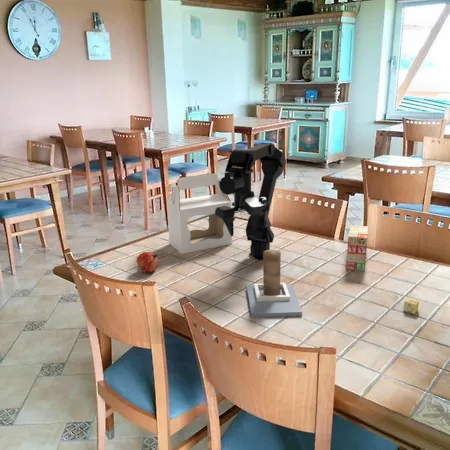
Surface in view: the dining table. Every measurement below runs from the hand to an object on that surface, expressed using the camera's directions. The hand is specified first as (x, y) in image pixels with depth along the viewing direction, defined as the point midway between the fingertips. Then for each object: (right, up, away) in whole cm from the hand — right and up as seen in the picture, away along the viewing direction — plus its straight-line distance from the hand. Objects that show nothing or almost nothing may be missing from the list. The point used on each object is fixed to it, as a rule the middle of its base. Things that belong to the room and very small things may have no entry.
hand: (243, 233), depth 155 cm
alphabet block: (+46, -21, -27) cm, 57 cm away
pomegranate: (-33, -13, +4) cm, 36 cm away
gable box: (-16, -5, +29) cm, 34 cm away
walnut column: (+8, -18, -18) cm, 26 cm away
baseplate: (+8, -20, -20) cm, 29 cm away
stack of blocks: (+41, -10, +10) cm, 44 cm away
